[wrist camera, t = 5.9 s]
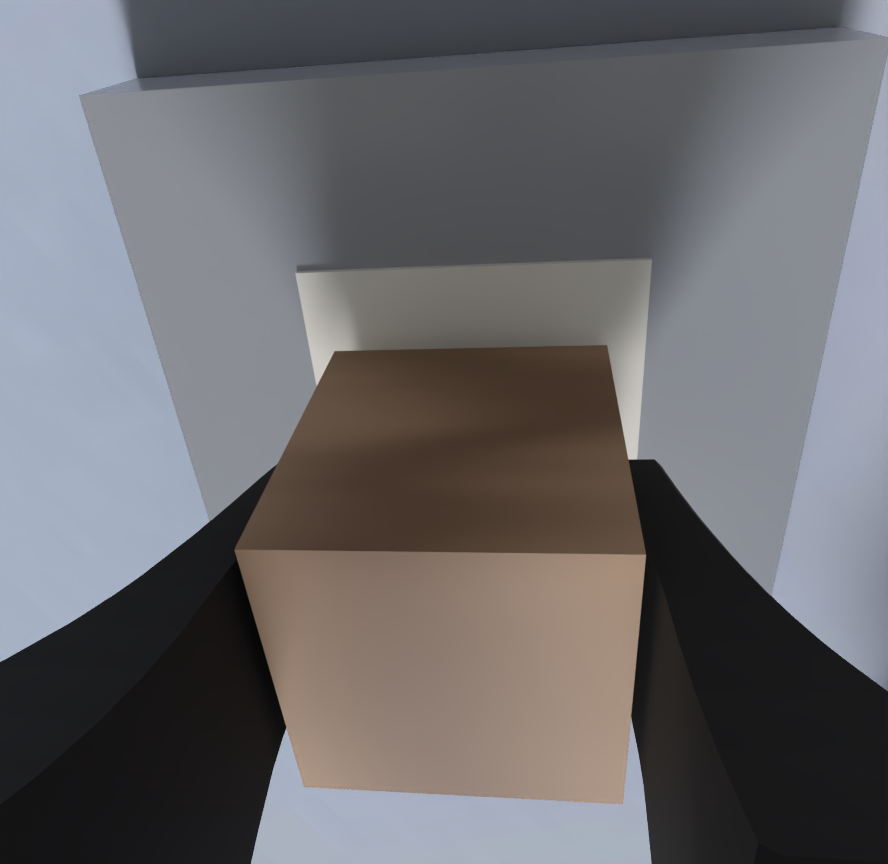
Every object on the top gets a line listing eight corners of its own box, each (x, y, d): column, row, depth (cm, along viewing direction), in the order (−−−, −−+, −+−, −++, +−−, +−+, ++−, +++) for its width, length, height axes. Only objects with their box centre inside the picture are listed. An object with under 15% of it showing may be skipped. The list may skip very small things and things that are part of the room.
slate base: (840, 27, 12) (894, 38, 10) (740, 582, 18) (761, 649, 16) (135, 78, 13) (75, 96, 12) (268, 574, 20) (242, 634, 18)
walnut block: (606, 345, 12) (646, 554, 8) (596, 556, 14) (623, 803, 10) (334, 351, 13) (234, 549, 8) (368, 553, 15) (304, 787, 11)
